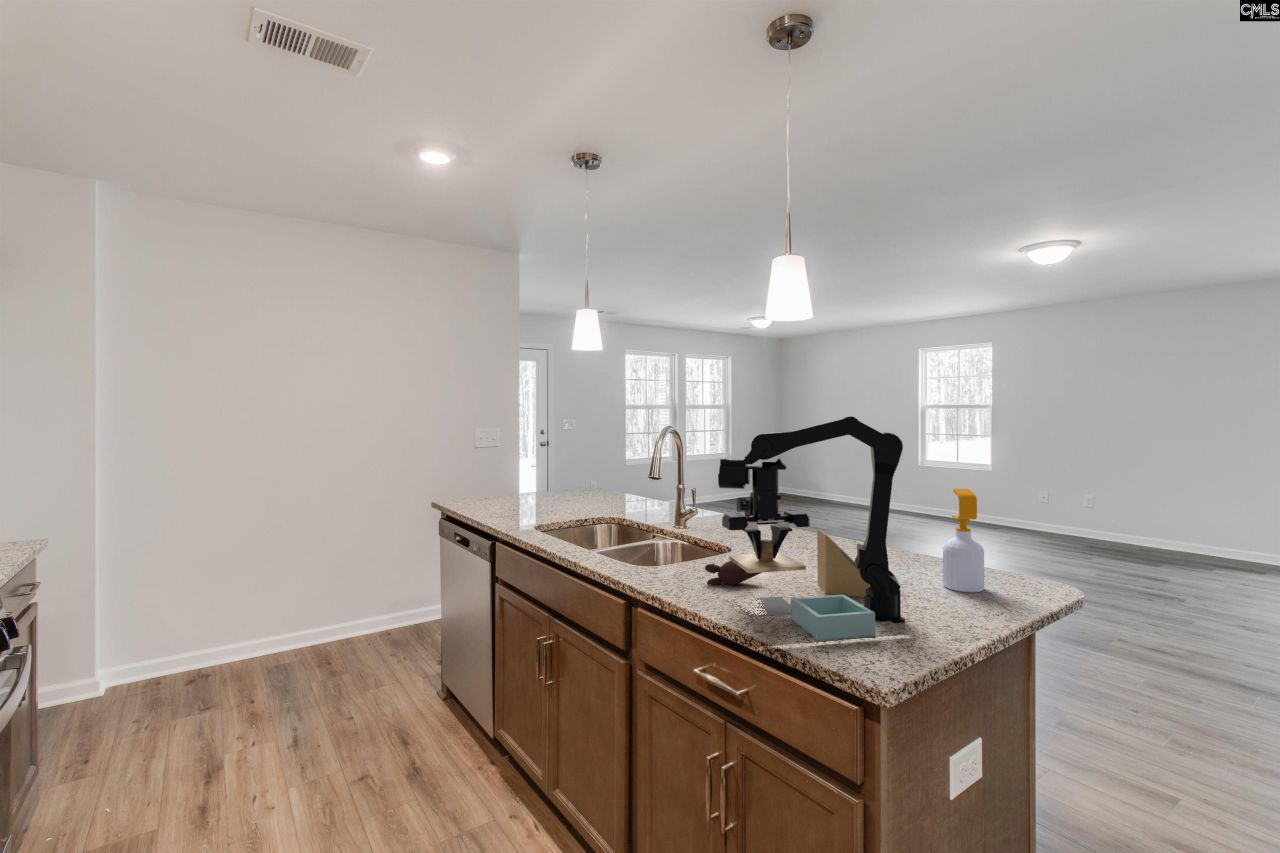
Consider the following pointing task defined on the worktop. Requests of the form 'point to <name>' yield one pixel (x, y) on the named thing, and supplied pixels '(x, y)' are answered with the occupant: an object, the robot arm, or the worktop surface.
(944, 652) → the worktop surface
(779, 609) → the mat
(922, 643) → the worktop surface
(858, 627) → the light blue box
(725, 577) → the icecream
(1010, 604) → the worktop surface
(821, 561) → the sandwich container
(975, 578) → the soap bottle
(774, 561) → the lid
